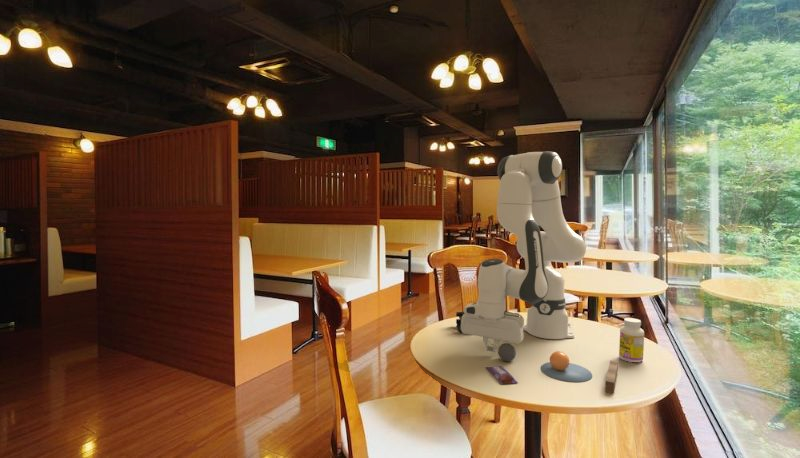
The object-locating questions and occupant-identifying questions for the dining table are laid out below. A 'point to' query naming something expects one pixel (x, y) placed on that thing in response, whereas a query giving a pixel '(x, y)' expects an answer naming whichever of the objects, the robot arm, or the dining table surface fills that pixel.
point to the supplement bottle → (631, 341)
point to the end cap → (459, 321)
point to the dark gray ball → (507, 352)
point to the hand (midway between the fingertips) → (490, 351)
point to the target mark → (567, 373)
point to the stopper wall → (611, 377)
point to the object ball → (559, 360)
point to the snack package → (501, 375)
